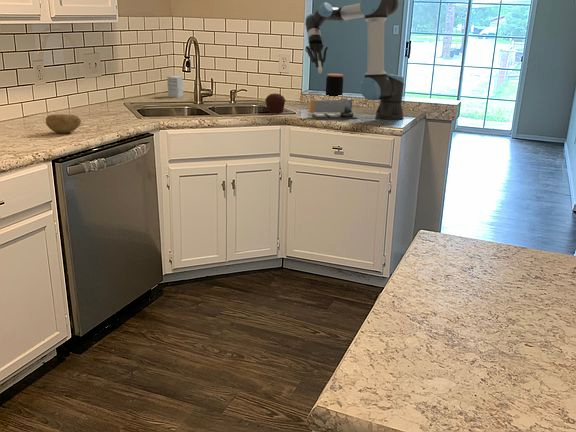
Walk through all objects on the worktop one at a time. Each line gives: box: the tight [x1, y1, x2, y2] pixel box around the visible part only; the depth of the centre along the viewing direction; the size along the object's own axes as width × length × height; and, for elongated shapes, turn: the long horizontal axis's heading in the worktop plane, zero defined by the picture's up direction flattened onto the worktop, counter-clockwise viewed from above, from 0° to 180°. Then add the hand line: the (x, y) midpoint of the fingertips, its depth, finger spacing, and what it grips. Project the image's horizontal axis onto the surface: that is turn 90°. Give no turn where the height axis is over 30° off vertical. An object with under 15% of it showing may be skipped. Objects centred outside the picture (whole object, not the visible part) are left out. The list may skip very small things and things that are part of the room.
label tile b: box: [311, 113, 329, 120], centre depth 311 cm, size 6×10×1 cm, turn 11°
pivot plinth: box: [337, 112, 358, 120], centre depth 314 cm, size 9×9×3 cm
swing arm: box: [308, 97, 354, 114], centre depth 310 cm, size 23×5×7 cm, turn 101°
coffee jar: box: [325, 73, 344, 96], centre depth 362 cm, size 11×11×18 cm
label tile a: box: [324, 113, 341, 120], centre depth 312 cm, size 6×10×1 cm, turn 11°
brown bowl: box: [45, 113, 82, 134], centre depth 246 cm, size 10×14×8 cm
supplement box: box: [166, 75, 184, 99], centre depth 367 cm, size 7×7×13 cm
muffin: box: [264, 93, 286, 114], centre depth 322 cm, size 12×11×10 cm
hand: (320, 71), depth 317 cm, fingers closed
